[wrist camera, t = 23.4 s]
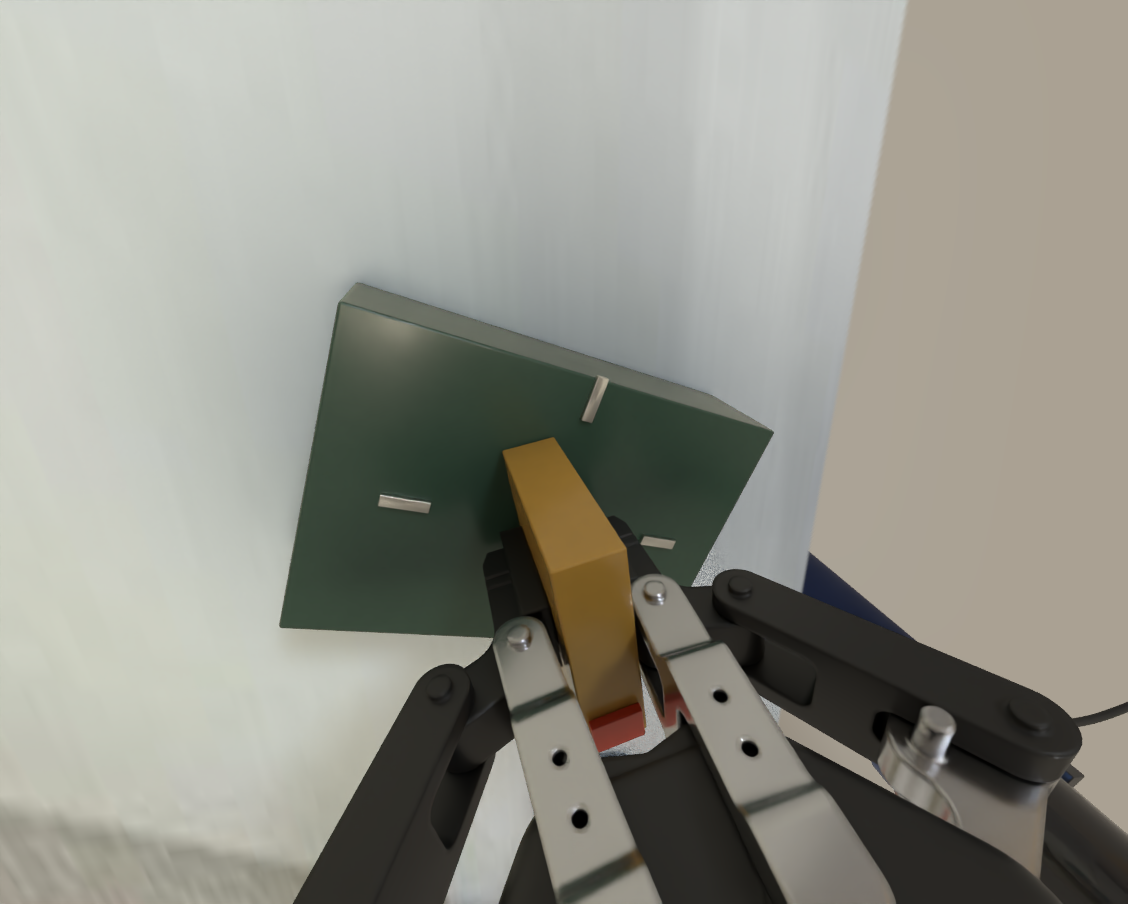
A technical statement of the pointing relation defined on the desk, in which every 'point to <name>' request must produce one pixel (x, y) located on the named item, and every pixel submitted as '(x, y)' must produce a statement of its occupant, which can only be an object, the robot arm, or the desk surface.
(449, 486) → the dark green block
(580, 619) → the mustard yellow slab
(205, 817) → the desk surface
